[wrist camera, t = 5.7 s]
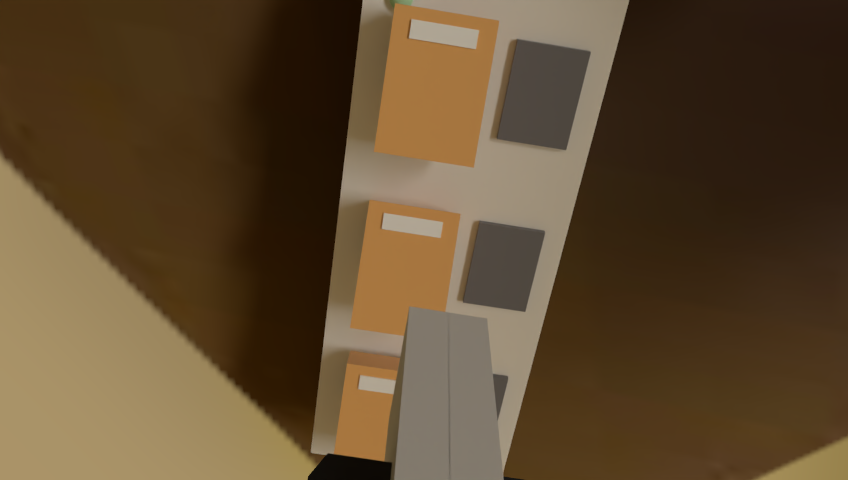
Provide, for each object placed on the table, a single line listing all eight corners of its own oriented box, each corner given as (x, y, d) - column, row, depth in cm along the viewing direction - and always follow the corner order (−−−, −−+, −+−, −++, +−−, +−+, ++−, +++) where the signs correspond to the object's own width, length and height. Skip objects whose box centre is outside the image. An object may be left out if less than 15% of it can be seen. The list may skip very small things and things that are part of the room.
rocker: (350, 350, 29) (346, 364, 28) (429, 362, 30) (430, 376, 28) (335, 452, 30) (331, 470, 29) (412, 463, 31) (412, 482, 29)
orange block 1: (396, 7, 24) (394, 3, 22) (494, 24, 24) (499, 20, 22) (376, 148, 25) (373, 151, 23) (470, 162, 25) (473, 167, 23)
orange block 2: (370, 200, 27) (369, 199, 25) (457, 213, 27) (460, 213, 26) (352, 322, 27) (349, 328, 26) (438, 334, 27) (440, 341, 26)
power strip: (403, -260, 24) (395, -298, 20) (655, -213, 25) (698, -241, 20) (324, 399, 36) (308, 461, 32) (495, 423, 36) (502, 488, 32)
